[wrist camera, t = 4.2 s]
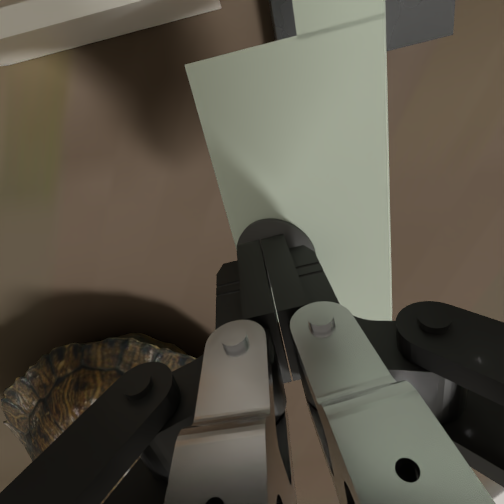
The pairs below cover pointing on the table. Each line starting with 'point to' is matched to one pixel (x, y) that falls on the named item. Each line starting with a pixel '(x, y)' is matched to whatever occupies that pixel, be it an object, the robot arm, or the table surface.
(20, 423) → the turtle shell
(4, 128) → the table surface
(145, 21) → the white open box
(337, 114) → the lever
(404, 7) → the fulcrum
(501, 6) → the table surface
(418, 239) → the table surface
